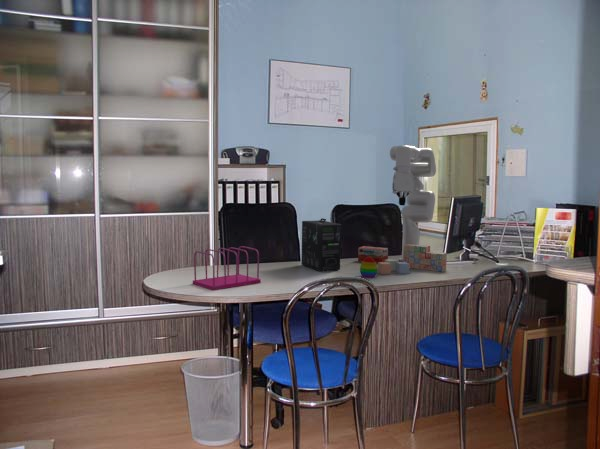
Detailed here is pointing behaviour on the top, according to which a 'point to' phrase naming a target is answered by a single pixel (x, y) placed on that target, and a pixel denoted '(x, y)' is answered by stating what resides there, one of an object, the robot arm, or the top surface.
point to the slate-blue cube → (402, 267)
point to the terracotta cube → (384, 268)
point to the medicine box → (373, 253)
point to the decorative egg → (368, 268)
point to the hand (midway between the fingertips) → (402, 205)
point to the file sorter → (225, 280)
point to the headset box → (321, 245)
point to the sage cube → (392, 263)
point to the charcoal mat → (389, 274)
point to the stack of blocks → (424, 258)
